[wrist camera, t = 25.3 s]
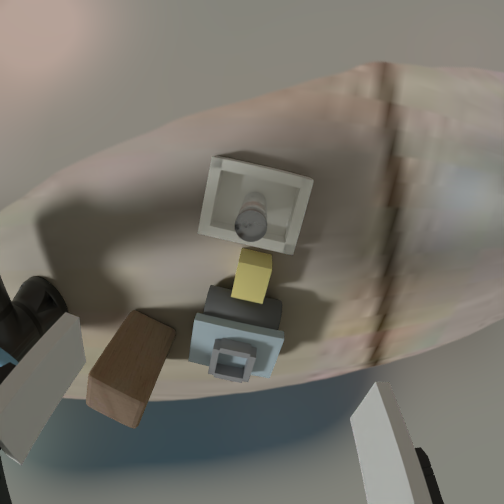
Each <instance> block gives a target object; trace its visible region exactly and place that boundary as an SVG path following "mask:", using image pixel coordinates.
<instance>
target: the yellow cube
mask: <svg viewBox="0 0 504 504" xmlns="http://www.w3.org/2000/svg"><path fill="white" fill-rule="evenodd" d="M271 272H272V255H271V254H267V253H262V252H258V251H254V250H249V249H245V248H242V249H241V254H240V258H239V263H238V267H237V271H236V276H235V280H234V284H233V289H232V293H231V297H234V298H238V299H242V300H247V301H251V302H256V303H261V304H263V300H264V297H265V293H266V290H267V286H268V283H269V279H270V276H271Z"/></svg>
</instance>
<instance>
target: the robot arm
mask: <svg viewBox="0 0 504 504" xmlns="http://www.w3.org/2000/svg"><path fill="white" fill-rule="evenodd" d="M85 363H86V359H85V353H84V347H83V341H82V334H81V327H80V319H79V317H77V316H75V315H72V314H69V313H68V310H67V307H66V304H65V302H64V300H63V298H62V297H61V295H60V294H59V292H58V291H57V290H56V289H55V287H54V286H53V285H51V284H50V283H49V282H48V281H46V280H45V279H43V278H40V277H31V278H29V279H28V280H26V281H25V282H24V283H23V284H22V285H21V287H20V289H19V291H18V292H17V294H16V296H15V297H14V299H13V301H12V302H11V300H10V298H9V295H8V293H7V291H6V288H5V286H4V284H3V281H2V279H1V276H0V450H1V449H2V450H3V451H4V452H5V454H7V456H9V457H10V458H11V459H13V460H14V461H16V462H17V463H19V464H20V465H22V464H23V462H24V460H25V458H26V457H27V455H28V453H29V451H30V450H31V448H32V446H33V444H34V443H35V441H36V439H37V438H38V436H39V434H40V432H41V430H42V429H43V427H44V426H45V424H46V422H47V421H48V419H49V418H50V416H51V414H52V413H53V411H54V410H55V408H56V407H57V405H58V403H59V402H60V400H61V399H62V397H63V396H64V394H65V393H66V391H67V390H68V388H69V387H70V385H71V383H72V382H73V380H74V379H75V378H76V376H77V375H78V373H79V372H80V370H81V369H82V367H83V366H84V364H85ZM350 421H351V425H352V429H353V434H354V438H355V442H356V447H357V452H358V456H359V462H360V466H361V471H362V476H363V481H364V487H365V492H366V497H367V502H368V504H444V502H443V500H442V497H441V494H440V491H439V488H438V485H437V482H436V478H435V475H433V474H434V473H433V470H432V468H431V464H430V461H429V458H428V456H427V455H426V453H425V452H424V451H423V450H422V448H414V445H413V442H412V440H411V437H410V434H409V431H408V429H407V426H406V423H405V421H404V418H403V416H402V413H401V411H400V408H399V405H398V403H397V400H396V398H395V395H394V393H393V390H392V388H391V386H390V383H389V382H375V383H374V385H373V386H372V388H371V389H370V391H369V392H368V394H367V395H366V396H365V398H364V399H363V401H362V402H361V404H360V405H359V407H358V408H357V409H356V411H355V412H354V413H353V415H352V416H351V418H350ZM0 504H12V502H11V499H10V495H9V492H8V488H7V484H6V480H5V476H4V471H3V466H2V461H1V456H0Z"/></svg>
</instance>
